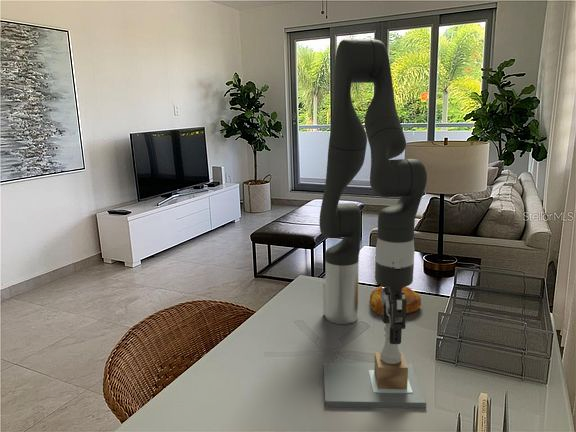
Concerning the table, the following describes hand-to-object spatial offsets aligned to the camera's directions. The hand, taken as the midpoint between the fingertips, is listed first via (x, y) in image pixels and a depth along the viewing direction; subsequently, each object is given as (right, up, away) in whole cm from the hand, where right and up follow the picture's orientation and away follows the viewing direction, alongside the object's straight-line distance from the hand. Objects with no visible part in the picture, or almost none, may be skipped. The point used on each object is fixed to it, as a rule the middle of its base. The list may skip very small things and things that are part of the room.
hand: (391, 332), depth 94 cm
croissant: (+10, -3, +42) cm, 43 cm away
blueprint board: (-4, -12, +3) cm, 13 cm away
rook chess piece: (0, -6, +1) cm, 6 cm away
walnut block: (0, -11, +2) cm, 11 cm away
